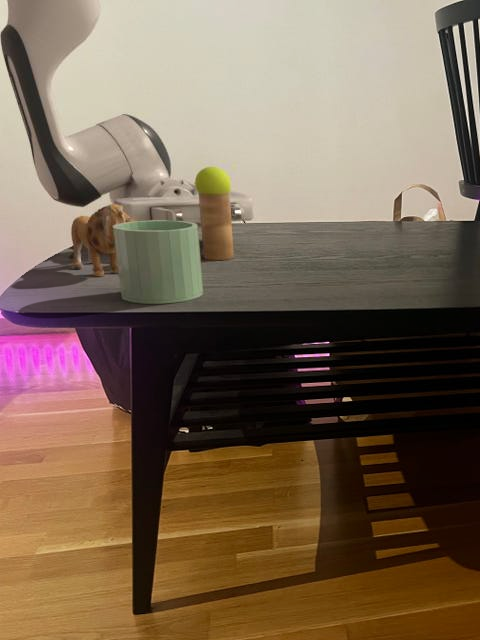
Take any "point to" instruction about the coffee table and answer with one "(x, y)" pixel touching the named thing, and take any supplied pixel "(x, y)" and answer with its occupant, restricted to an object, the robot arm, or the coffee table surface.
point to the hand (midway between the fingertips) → (209, 215)
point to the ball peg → (215, 213)
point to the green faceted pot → (158, 261)
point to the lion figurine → (97, 236)
